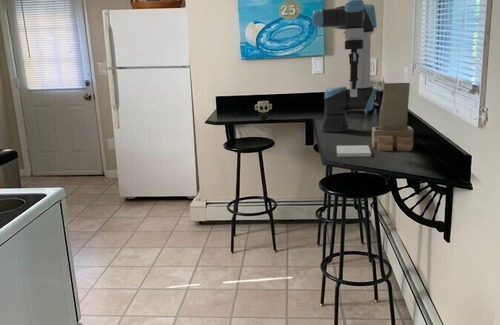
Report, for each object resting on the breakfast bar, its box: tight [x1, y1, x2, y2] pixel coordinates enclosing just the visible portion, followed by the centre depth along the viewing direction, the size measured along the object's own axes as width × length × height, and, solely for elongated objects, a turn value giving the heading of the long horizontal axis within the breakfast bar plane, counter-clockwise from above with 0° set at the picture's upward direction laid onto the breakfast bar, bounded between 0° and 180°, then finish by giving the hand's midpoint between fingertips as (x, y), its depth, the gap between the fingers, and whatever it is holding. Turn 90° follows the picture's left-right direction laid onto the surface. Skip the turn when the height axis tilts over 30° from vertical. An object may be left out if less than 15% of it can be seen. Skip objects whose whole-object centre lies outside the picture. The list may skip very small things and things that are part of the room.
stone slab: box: [378, 82, 411, 130], centre depth 211 cm, size 12×4×30 cm, turn 80°
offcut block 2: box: [395, 135, 413, 152], centre depth 208 cm, size 4×6×6 cm, turn 81°
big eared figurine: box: [254, 100, 273, 121], centre depth 305 cm, size 11×7×13 cm, turn 92°
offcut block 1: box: [376, 136, 394, 152], centre depth 210 cm, size 4×6×6 cm, turn 81°
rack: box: [371, 125, 414, 149], centre depth 217 cm, size 10×17×8 cm, turn 81°
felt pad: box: [336, 144, 372, 158], centre depth 207 cm, size 16×14×2 cm
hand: (353, 96), depth 202 cm, fingers open, 3 cm apart
